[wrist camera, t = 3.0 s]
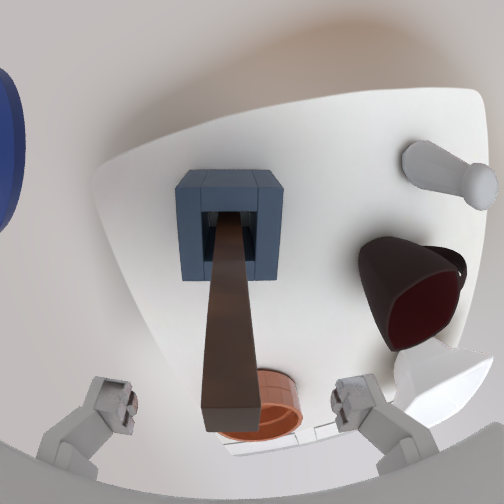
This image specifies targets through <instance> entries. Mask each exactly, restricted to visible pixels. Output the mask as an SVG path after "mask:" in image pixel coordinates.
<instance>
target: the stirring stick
mask: <svg viewBox="0 0 504 504" xmlns="http://www.w3.org/2000/svg"><path fill="white" fill-rule="evenodd" d="M201 410H202V415H203V419H204V424H205V428H206V431H207V432H253V431H258V430H259V423H260V414H261V398H260V390H259V381H258V372H257V363H256V355H255V346H254V337H253V328H252V319H251V310H250V300H249V291H248V282H247V273H246V263H245V254H244V244H243V235H242V225H241V215H240V211H222V212H218V220H217V228H216V236H215V245H214V254H213V263H212V272H211V282H210V292H209V303H208V313H207V325H206V337H205V350H204V364H203V378H202V395H201Z"/></svg>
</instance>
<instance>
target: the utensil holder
mask: <svg viewBox="0 0 504 504" xmlns="http://www.w3.org/2000/svg"><path fill="white" fill-rule="evenodd" d="M283 191H284V188H283V187H282V185H281V184H280V183H279V182H278V180H277V179H276V178H275V176H274V175H273V174H272V172H271V171H270V170H189V172H188V173H187V174H186V175H185V176H184V178H183V179H182V180H181V181H180V183H179V184H178V185H177V186H176V188H175V196H176V213H177V227H178V239H179V251H180V261H181V271H182V280H183V281H211V272H212V263H213V254H214V245H215V236H216V228H217V227H209V212H222V211H246V212H250V223H249V227H242V235H243V244H244V254H245V263H246V273H247V281H254V280H255V281H263V280H277V270H278V258H279V245H280V233H281V219H282V205H283Z"/></svg>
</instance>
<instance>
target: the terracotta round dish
mask: <svg viewBox="0 0 504 504" xmlns="http://www.w3.org/2000/svg"><path fill="white" fill-rule="evenodd" d="M257 372H258V381H259V390H260V398H261V414H260V423H259V430H258V431H253V432H218V433H219V434H220V435H222V436H224V437H226V438H229V439H233V440H237V441H245V442H259V441H267V440H272V439H276V438H279V437H282V436H285V435H287V434H289V433H291V432H292V431H294V430H295V429H296V428H297V427H298V426H299V425H301V422H302V420H303V415H302V411H301V406H300V402H299V398H298V393H297V389H296V386H295V383H294V382H293V381H292V380H291V379H290V378H289V377H288V376H285V375H283V374H280V373H277V372H271V371H257Z"/></svg>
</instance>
